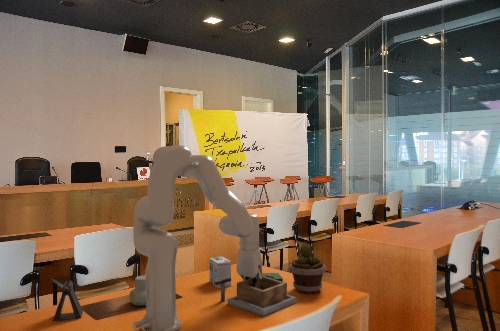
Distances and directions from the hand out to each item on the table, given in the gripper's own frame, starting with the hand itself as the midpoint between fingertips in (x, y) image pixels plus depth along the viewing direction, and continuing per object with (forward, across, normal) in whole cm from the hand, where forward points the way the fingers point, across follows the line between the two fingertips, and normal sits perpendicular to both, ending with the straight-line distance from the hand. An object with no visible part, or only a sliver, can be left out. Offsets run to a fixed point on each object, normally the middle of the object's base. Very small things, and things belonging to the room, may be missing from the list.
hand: (250, 292), depth 157 cm
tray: (+3, +6, 0) cm, 7 cm away
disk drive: (+3, -12, +22) cm, 25 cm away
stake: (+3, -7, -8) cm, 11 cm away
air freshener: (+3, -28, -30) cm, 41 cm away
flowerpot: (+3, +10, +24) cm, 26 cm away
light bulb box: (+3, -24, +6) cm, 25 cm away
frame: (+1, +6, 0) cm, 6 cm away
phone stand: (+3, -36, -55) cm, 66 cm away
